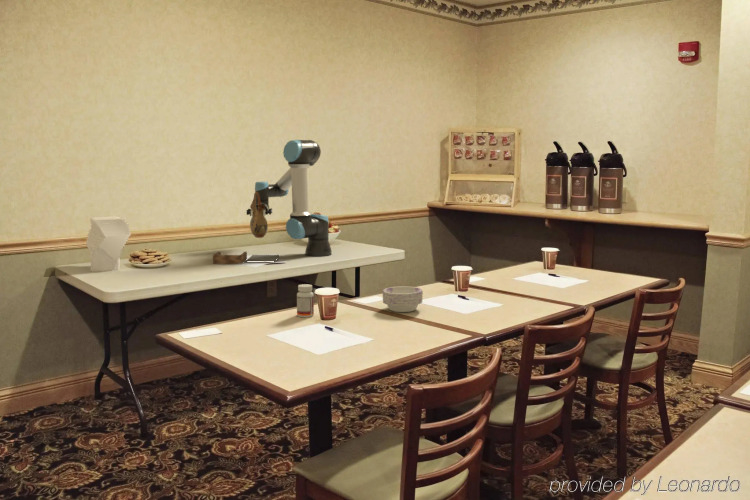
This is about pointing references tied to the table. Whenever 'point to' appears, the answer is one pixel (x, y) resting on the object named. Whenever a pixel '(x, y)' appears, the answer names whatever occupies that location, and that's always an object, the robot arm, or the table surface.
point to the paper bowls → (402, 298)
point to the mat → (263, 258)
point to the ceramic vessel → (258, 219)
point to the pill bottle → (305, 301)
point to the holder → (229, 258)
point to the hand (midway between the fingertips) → (257, 213)
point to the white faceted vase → (106, 242)
